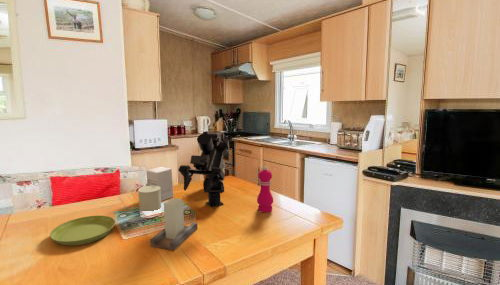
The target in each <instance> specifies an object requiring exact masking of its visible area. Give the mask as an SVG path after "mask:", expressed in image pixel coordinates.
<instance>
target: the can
mask: <svg viewBox="0 0 500 285" xmlns="http://www.w3.org/2000/svg"><path fill="white" fill-rule="evenodd" d="M160 189H161V188H160V187H159V186H148V185H147V186H142V187H140V188H138V190H137V194H138V202H139V205H138V206H139V212H140V211H154V210H158V209H160V208H161V207H162V201H161V190H160Z"/></svg>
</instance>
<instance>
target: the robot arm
mask: <svg viewBox="0 0 500 285" xmlns="http://www.w3.org/2000/svg"><path fill="white" fill-rule="evenodd" d="M196 141H197V144H198V146H199V149H200V151H201V154H200V155H194V154H193V155H190V162H189V163H190V164H191V165H193V166H192V167H193V168H191V166H190V165H186V164H181V165H179V167H178V170H177V171H178V172H179V173H180V175H182V176H183V190H184V191H187V190H188V188H189V185H190V183H191V181H192V179H193V178H192V177H193V175H202V176H203V175H206V177H205V180H204V179H203V182H202V186H203V187H202V188H203V193H204V194H206V193H207V198H208V201H205V204H206V205H207V206H208V207H210V208H214V207H217V206H223V205H224V202H222V201H221V194H222V193H225V184H224V180H225V177H226V176H225V175H226V174H224V172H223V171H222V169H221V166H222V161H224V156H227V154H228V151H229V150H230V143H229V142H230V141H229V139H228V138H227V136H225V134H224V132H220V131H219V132H218V131H217V132H216V131H215V132H211V133H209V131H202V133H200V134H199V135H198V136H197V138H196ZM211 166H212V168H211ZM194 168H195V169H194ZM210 168H211V170H210ZM222 180H223V182H222Z"/></svg>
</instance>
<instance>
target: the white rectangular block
mask: <svg viewBox="0 0 500 285" xmlns="http://www.w3.org/2000/svg"><path fill="white" fill-rule="evenodd" d="M163 213H164V227H165V228H164V229H165V232H166V238H169V239H175V238H176V237H177V236H178V235H179V234H180V233H182V232H183V231H184V226H185V218H184V216H185V214H184V199H181V198H174V197H171V198H169V200H168V199H167V201H165V202H163Z"/></svg>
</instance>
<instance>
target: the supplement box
mask: <svg viewBox="0 0 500 285" xmlns="http://www.w3.org/2000/svg"><path fill="white" fill-rule="evenodd" d="M172 171H173V170H172V168H168V167H165V166H159V167H154V168H150V169H146V171H145V172H146V182H147V186H159V187H160V188H161V189H160V190H161V202H163V201H166V200H168V199H169V200H170V199H172V198H174V187H173V186H174V185H173V172H172Z"/></svg>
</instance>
